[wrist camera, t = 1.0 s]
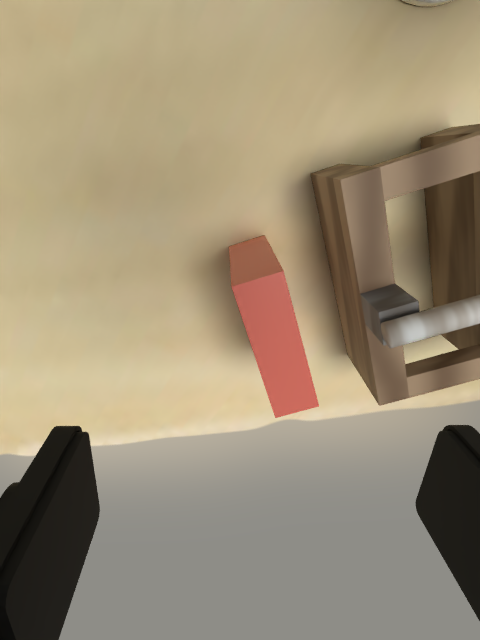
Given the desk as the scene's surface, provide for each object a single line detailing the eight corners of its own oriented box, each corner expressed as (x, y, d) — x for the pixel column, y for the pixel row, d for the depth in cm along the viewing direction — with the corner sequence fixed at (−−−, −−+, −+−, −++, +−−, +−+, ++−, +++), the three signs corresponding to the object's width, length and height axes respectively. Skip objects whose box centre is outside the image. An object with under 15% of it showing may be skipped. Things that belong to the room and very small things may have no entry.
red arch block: (264, 235, 38) (283, 271, 26) (292, 338, 43) (319, 406, 32) (228, 246, 38) (231, 286, 27) (261, 347, 44) (275, 417, 32)
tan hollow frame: (451, 127, 35) (616, 107, 20) (460, 323, 44) (578, 407, 29) (310, 173, 36) (370, 186, 21) (347, 355, 45) (407, 450, 30)
